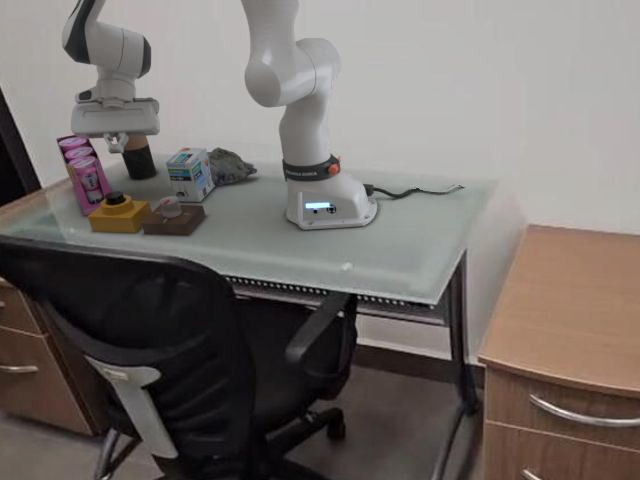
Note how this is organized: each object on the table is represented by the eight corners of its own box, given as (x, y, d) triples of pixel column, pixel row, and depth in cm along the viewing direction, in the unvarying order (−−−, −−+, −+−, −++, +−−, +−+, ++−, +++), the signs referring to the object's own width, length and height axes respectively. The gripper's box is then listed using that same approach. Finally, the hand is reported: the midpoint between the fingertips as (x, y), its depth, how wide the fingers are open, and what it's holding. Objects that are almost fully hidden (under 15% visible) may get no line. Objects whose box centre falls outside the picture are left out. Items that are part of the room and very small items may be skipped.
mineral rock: (260, 177, 170) (253, 142, 164) (240, 193, 162) (232, 157, 156) (220, 172, 173) (212, 138, 167) (198, 188, 165) (189, 152, 159)
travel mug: (162, 172, 175) (141, 101, 163) (140, 182, 170) (117, 110, 158) (145, 167, 178) (123, 98, 166) (123, 176, 173) (99, 105, 161)
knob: (167, 209, 148) (163, 195, 146) (184, 209, 148) (180, 195, 146) (159, 217, 145) (155, 203, 142) (177, 218, 144) (173, 203, 142)
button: (128, 199, 148) (125, 191, 147) (120, 206, 145) (117, 198, 143) (113, 198, 148) (110, 190, 147) (104, 205, 145) (101, 198, 144)
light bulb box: (200, 202, 157) (190, 162, 151) (175, 202, 158) (164, 162, 152) (216, 185, 166) (206, 147, 160) (192, 184, 167) (182, 146, 160)
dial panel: (205, 216, 151) (202, 204, 150) (188, 235, 143) (184, 223, 142) (163, 215, 153) (160, 203, 151) (144, 234, 145) (140, 222, 143)
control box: (153, 215, 153) (146, 193, 149) (135, 232, 145) (127, 210, 142) (112, 214, 154) (104, 192, 150) (93, 231, 147) (84, 208, 143)
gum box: (118, 210, 156) (100, 159, 148) (85, 218, 152) (64, 167, 144) (103, 179, 172) (86, 131, 164) (73, 185, 169) (54, 138, 161)
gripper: (164, 103, 153) (164, 155, 151) (81, 107, 153) (80, 160, 150) (153, 90, 147) (154, 144, 145) (67, 94, 146) (66, 149, 144)
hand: (115, 152), depth 148 cm, fingers closed
